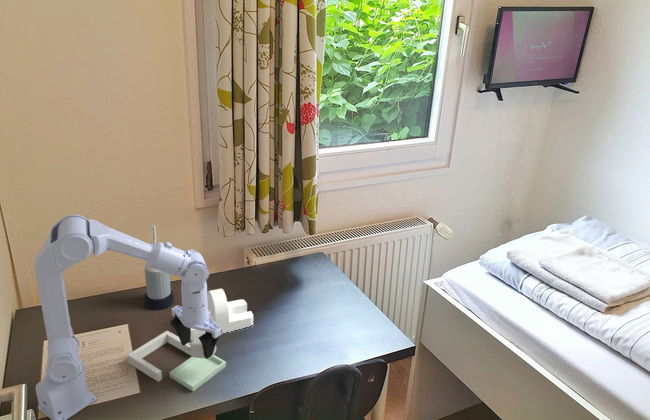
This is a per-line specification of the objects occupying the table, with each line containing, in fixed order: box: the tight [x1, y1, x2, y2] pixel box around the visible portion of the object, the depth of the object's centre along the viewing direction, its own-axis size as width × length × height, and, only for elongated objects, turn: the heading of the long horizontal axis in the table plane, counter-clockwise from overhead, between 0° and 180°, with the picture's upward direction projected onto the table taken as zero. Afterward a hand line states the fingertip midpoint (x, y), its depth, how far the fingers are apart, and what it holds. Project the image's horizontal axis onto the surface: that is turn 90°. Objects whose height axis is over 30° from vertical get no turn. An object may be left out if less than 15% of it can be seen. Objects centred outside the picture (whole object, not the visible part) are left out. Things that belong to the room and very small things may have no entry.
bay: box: [127, 330, 192, 383], centre depth 130 cm, size 12×11×2 cm
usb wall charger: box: [184, 336, 217, 359], centre depth 124 cm, size 4×7×4 cm, turn 74°
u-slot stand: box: [190, 287, 254, 342], centre depth 143 cm, size 10×18×11 cm, turn 116°
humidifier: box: [144, 225, 175, 311], centre depth 148 cm, size 8×8×25 cm
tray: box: [169, 354, 227, 393], centre depth 127 cm, size 11×8×2 cm
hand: (197, 349), depth 124 cm, fingers closed on usb wall charger, 7 cm apart
